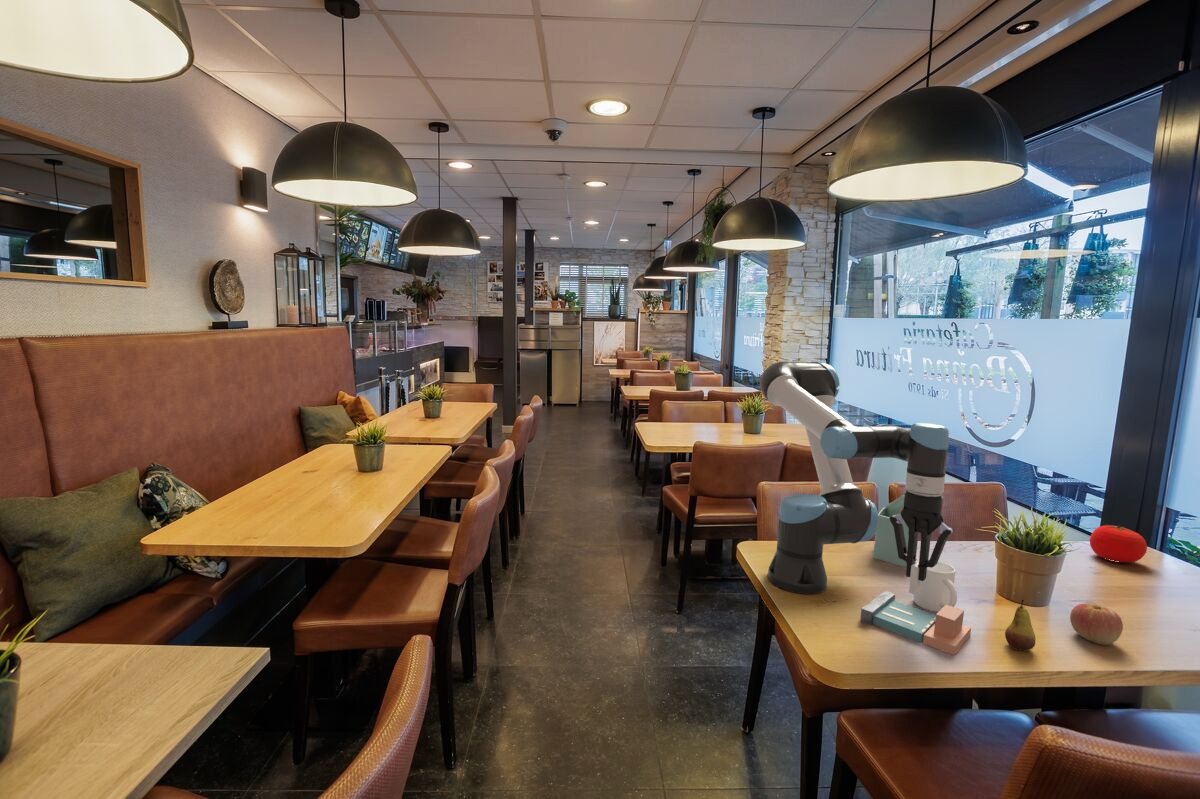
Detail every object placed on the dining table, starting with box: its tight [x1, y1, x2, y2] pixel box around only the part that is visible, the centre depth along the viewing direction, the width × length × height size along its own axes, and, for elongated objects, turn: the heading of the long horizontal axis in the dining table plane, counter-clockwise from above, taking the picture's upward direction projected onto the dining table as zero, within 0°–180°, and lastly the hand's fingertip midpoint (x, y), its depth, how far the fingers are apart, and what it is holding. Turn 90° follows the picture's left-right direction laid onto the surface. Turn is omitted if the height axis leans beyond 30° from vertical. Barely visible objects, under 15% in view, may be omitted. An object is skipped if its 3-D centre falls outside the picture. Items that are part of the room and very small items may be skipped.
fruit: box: [1004, 599, 1036, 651], centre depth 122 cm, size 6×6×12 cm
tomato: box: [1089, 523, 1148, 563], centre depth 175 cm, size 12×13×11 cm
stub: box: [922, 605, 972, 656], centre depth 125 cm, size 6×12×6 cm, turn 133°
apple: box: [1069, 603, 1124, 646], centre depth 127 cm, size 9×9×8 cm
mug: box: [913, 560, 958, 613], centre depth 139 cm, size 12×8×10 cm
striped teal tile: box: [872, 600, 936, 643], centre depth 133 cm, size 13×12×2 cm
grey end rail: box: [859, 590, 896, 626], centre depth 136 cm, size 2×14×3 cm, turn 133°
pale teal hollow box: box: [872, 494, 919, 568], centre depth 171 cm, size 16×8×20 cm, turn 6°
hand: (914, 592), depth 130 cm, fingers closed
